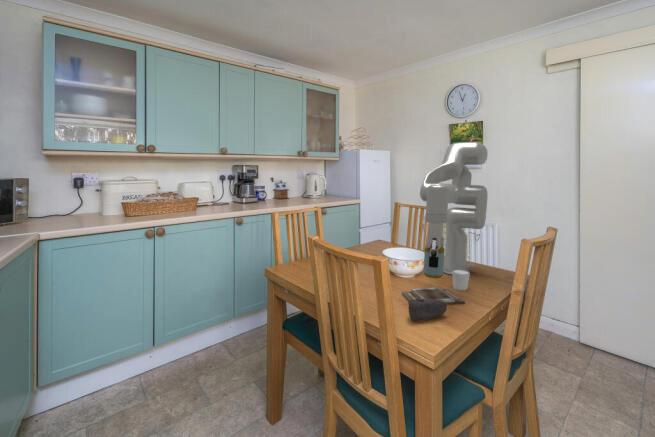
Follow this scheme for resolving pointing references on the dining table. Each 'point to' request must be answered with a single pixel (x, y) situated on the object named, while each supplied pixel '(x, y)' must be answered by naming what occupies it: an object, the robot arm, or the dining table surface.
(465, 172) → the robot arm
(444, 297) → the dark rectangular tray
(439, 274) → the bottle
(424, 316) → the perforated stone tool
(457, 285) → the white cylinder
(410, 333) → the dining table surface
